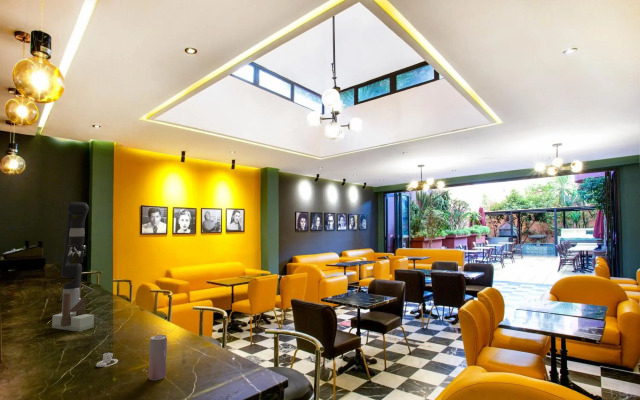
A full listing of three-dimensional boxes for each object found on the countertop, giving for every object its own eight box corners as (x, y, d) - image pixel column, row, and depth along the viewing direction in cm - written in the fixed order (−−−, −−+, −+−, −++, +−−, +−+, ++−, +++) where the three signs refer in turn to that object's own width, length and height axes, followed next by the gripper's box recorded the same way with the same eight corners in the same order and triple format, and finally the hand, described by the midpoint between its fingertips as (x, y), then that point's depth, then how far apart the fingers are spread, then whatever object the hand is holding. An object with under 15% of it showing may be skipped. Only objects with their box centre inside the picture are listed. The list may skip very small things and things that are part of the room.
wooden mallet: (85, 322, 194) (86, 291, 195) (62, 326, 185) (64, 294, 187) (82, 321, 196) (84, 290, 198) (60, 325, 188) (62, 293, 189)
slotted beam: (66, 324, 198) (67, 311, 198) (93, 327, 191) (94, 314, 191) (52, 327, 190) (52, 315, 191) (79, 331, 183) (80, 318, 184)
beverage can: (152, 374, 130) (153, 334, 131) (168, 373, 130) (169, 334, 131) (145, 381, 124) (147, 340, 125) (162, 380, 124) (163, 339, 125)
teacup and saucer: (99, 370, 135) (99, 359, 135) (90, 365, 139) (90, 355, 139) (121, 362, 142) (122, 352, 142) (112, 358, 146) (112, 349, 146)
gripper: (91, 235, 204) (90, 262, 203) (74, 235, 209) (73, 261, 208) (79, 236, 197) (77, 263, 196) (62, 235, 202) (60, 262, 201)
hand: (75, 262), depth 202 cm, fingers open, 8 cm apart
